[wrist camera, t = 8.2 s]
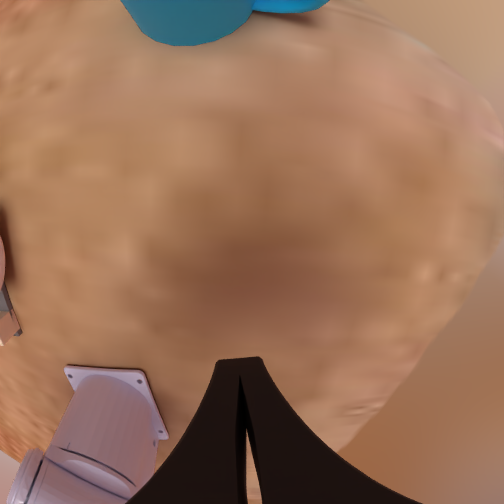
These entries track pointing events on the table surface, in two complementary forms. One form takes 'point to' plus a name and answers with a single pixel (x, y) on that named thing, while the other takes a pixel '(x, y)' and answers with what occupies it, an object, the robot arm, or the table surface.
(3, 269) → the bath foam
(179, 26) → the mug
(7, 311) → the cradle
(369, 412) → the table surface
